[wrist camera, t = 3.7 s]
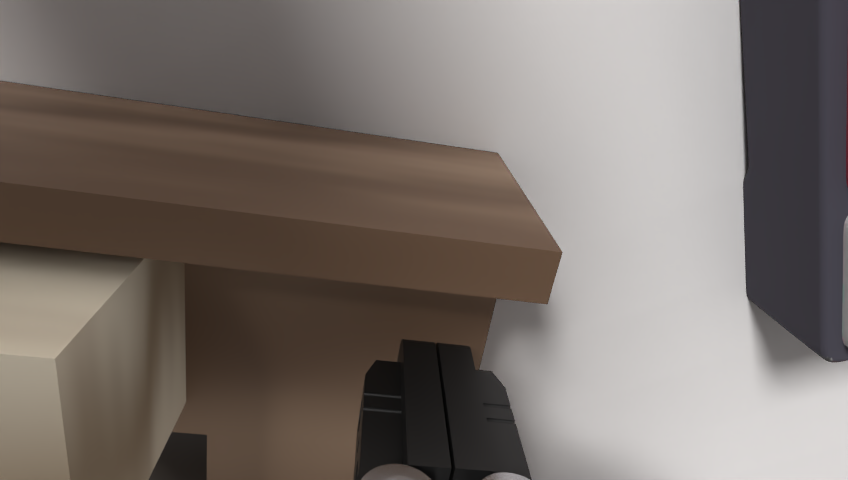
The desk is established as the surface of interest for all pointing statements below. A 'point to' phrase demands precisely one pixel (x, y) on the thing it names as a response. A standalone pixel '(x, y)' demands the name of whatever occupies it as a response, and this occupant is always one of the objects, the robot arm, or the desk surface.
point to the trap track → (275, 257)
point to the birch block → (88, 363)
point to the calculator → (798, 167)
